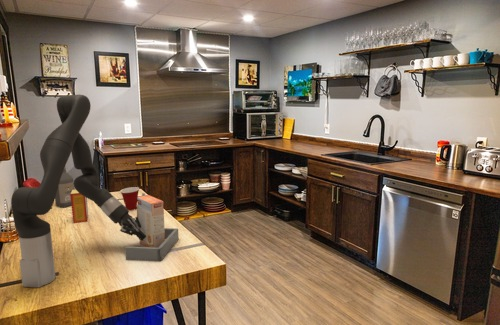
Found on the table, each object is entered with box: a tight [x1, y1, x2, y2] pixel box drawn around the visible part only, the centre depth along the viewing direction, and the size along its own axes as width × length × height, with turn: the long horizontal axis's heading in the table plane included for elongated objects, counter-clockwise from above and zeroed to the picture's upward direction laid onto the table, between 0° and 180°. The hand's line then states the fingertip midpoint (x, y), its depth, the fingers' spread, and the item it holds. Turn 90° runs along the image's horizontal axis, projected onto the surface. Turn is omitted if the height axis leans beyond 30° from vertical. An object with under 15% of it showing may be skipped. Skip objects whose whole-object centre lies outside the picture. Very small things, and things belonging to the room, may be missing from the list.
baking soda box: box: [71, 189, 89, 224], centre depth 181 cm, size 10×6×16 cm
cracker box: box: [137, 194, 165, 248], centre depth 147 cm, size 14×6×21 cm, turn 41°
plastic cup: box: [119, 186, 140, 211], centre depth 200 cm, size 11×11×12 cm
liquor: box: [54, 167, 75, 209], centre depth 206 cm, size 9×9×30 cm
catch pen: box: [124, 227, 179, 262], centre depth 145 cm, size 22×14×5 cm, turn 174°
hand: (144, 238), depth 145 cm, fingers closed
